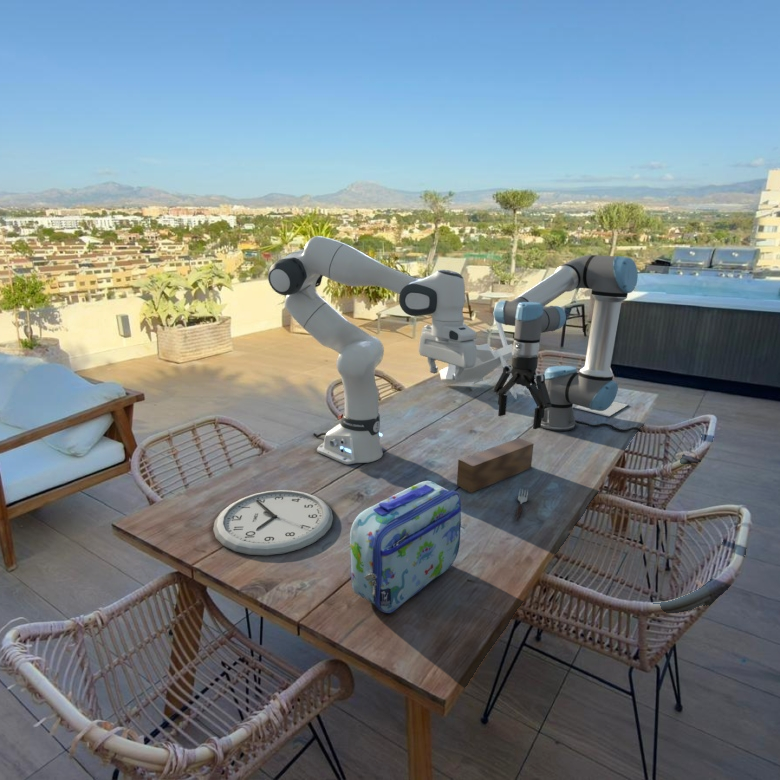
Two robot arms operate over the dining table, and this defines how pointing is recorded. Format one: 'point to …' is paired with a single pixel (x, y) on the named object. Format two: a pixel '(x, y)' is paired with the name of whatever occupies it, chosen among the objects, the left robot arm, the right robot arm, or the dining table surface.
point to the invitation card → (609, 411)
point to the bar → (494, 464)
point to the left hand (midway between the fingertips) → (444, 376)
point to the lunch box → (404, 544)
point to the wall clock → (273, 522)
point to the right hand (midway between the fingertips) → (518, 421)
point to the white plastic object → (483, 364)
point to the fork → (520, 499)
